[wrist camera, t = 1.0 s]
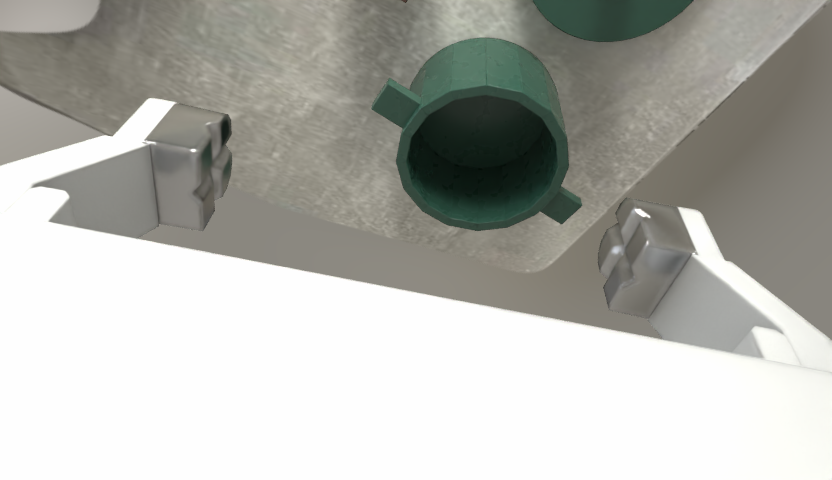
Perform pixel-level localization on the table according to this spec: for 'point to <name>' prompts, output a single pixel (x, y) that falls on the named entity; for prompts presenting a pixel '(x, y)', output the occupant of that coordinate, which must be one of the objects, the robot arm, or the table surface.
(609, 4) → the pot lid
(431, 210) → the pot
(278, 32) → the table surface
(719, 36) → the table surface
